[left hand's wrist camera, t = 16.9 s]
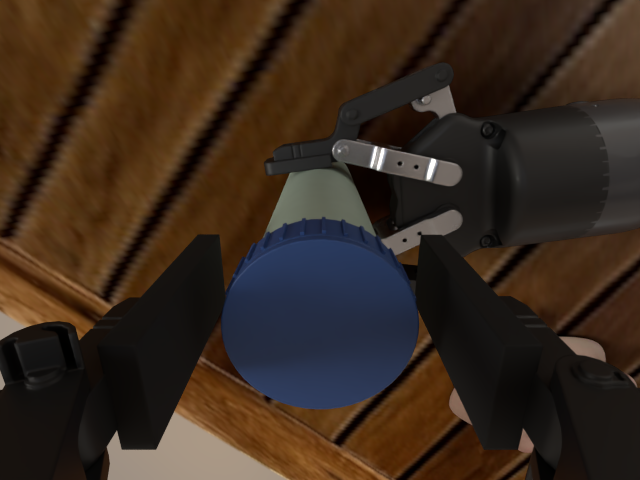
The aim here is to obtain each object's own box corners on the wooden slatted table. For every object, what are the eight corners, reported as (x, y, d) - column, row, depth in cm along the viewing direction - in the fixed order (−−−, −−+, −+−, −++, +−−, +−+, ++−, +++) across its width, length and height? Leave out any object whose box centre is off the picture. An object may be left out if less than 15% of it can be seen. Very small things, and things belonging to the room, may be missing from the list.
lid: (289, 180, 10) (283, 194, 9) (443, 275, 11) (464, 304, 10) (202, 322, 12) (183, 358, 10) (344, 395, 13) (348, 438, 11)
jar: (330, 225, 29) (344, 407, 12) (277, 194, 28) (208, 341, 11) (363, 173, 28) (437, 294, 10) (309, 139, 27) (289, 208, 10)
